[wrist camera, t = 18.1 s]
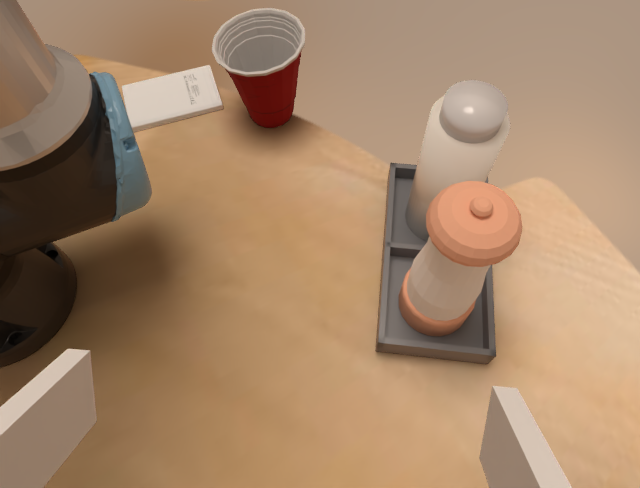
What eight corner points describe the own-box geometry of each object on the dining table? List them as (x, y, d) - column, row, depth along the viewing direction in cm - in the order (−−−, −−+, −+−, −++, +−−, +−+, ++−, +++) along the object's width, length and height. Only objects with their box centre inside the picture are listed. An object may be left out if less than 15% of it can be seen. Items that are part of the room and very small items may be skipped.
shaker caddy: (375, 351, 50) (378, 342, 47) (388, 177, 60) (390, 162, 57) (487, 364, 49) (495, 356, 46) (480, 186, 59) (487, 171, 56)
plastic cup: (225, 89, 67) (206, 12, 57) (302, 77, 68) (297, -1, 58) (234, 150, 62) (214, 77, 52) (316, 136, 63) (313, 62, 53)
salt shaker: (403, 239, 55) (433, 131, 39) (406, 189, 58) (434, 70, 42) (465, 245, 54) (520, 138, 38) (464, 194, 57) (515, 76, 41)
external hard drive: (125, 93, 68) (211, 71, 70) (133, 135, 65) (224, 111, 66) (121, 84, 67) (209, 62, 69) (129, 127, 63) (222, 103, 65)
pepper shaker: (392, 274, 52) (422, 165, 36) (459, 268, 53) (520, 157, 36) (404, 339, 49) (442, 253, 32) (475, 333, 49) (550, 243, 32)
